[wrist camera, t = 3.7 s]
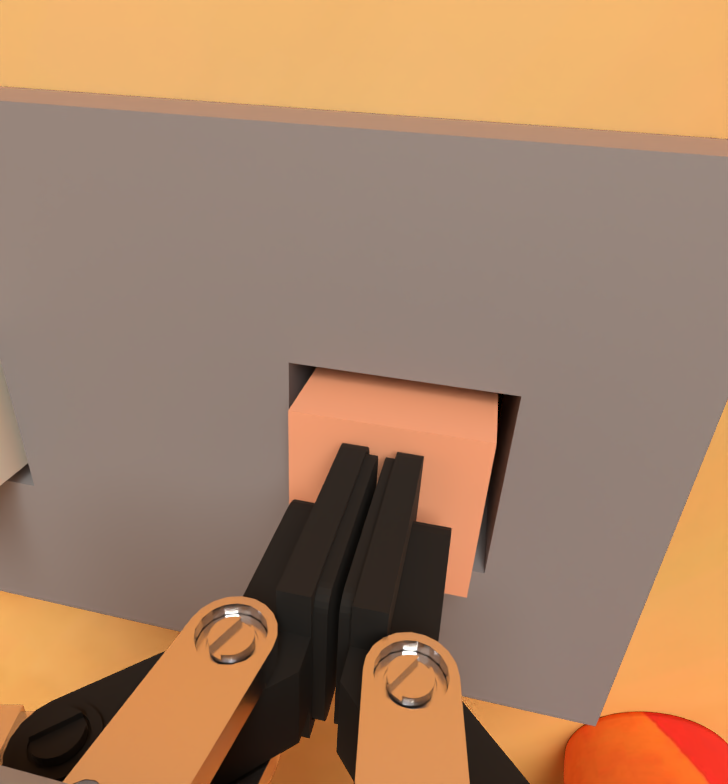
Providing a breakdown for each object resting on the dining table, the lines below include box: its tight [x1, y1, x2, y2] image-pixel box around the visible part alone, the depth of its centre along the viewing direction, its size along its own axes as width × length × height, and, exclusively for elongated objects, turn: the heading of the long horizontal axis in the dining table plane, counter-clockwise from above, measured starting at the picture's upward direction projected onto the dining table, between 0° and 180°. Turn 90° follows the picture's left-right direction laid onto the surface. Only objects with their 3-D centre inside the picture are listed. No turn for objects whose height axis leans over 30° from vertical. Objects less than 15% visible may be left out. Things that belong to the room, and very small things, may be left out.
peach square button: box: [288, 367, 498, 598], centre depth 14 cm, size 4×4×4 cm
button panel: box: [0, 87, 728, 726], centre depth 16 cm, size 14×24×4 cm, turn 87°
